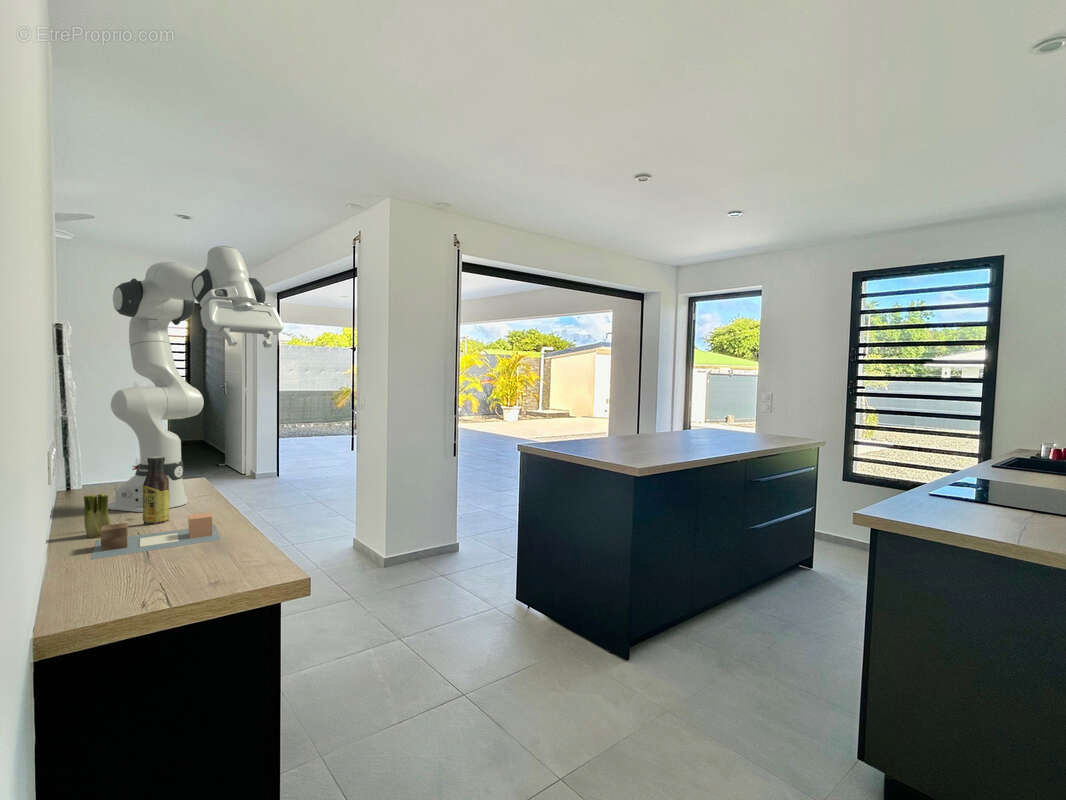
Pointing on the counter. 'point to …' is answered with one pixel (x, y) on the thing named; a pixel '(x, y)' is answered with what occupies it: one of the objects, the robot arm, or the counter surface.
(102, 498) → the fennel bulb
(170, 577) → the counter surface
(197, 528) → the terracotta block
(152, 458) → the sauce bottle
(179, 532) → the build board
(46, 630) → the counter surface
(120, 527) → the walnut block
